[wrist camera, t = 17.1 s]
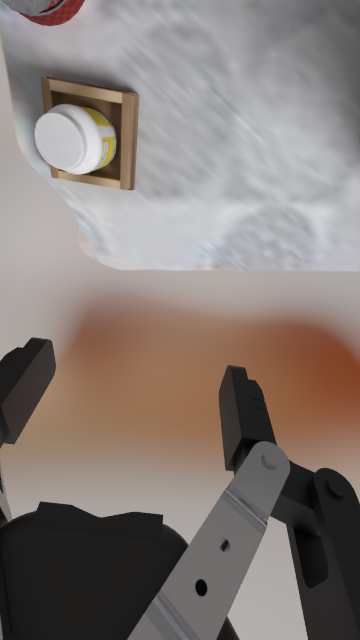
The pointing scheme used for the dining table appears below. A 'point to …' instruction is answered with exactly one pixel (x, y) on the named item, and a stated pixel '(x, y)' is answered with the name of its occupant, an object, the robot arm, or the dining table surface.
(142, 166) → the dining table surface
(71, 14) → the canned food
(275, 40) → the dining table surface
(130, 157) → the wooden box
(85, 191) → the dining table surface
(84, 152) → the supplement bottle
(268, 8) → the dining table surface
